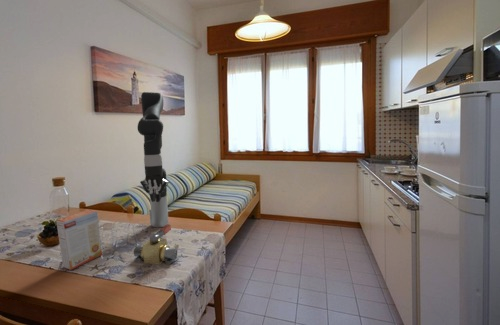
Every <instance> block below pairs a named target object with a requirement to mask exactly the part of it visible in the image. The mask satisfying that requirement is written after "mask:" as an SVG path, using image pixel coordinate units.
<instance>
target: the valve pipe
mask: <svg viewBox="0 0 500 325" xmlns="http://www.w3.org/2000/svg"><path fill="white" fill-rule="evenodd" d="M167 241H168V240H167V238H162V237H161V238H160V241H159V242H156V243H150V239H148V240H147V241H146V242H145V243H143V244H142V245H136V246H135V248H134V249H133V256H134V257H135V259H134V260H135V262H142V261H143V263H144V264H150V265H151V264H153V265H160V264H162V262H165V264H167V265H172V263H174V261H176V259H177V257H178V249H177V248H175V247H174V248H172V247H170V245H168V242H167Z"/></svg>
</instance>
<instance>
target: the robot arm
mask: <svg viewBox="0 0 500 325" xmlns="http://www.w3.org/2000/svg"><path fill="white" fill-rule="evenodd" d="M140 100H141V101H140V102H141V110H142V111H141V112H142V117H141V118H140V120H139V121H138V123H137V132H138V133H139V134H140V135H141V136H143V142H144V143H143V155H144V156H143V163H144V165H143V166H144V173H145V174H144V175H145V178H144V179H143V180H141V181H140V185H141V186H142V188H143V190H144V191H145V192H146V193H148V194H149V202H150V203H149V204H150V209H149V222H150V227H153V228H163V227H164V226H165V225H170V224H169V211H168V206H169V205H168V196H167V195H168V194H167V193H168V192H167V191H168V190H167V189H168V188H167V187H168V185H169V183H170V181H169V180H167V172H166V170H165V168H163V157H162V153H161V152H162V147H163V136H162V135H163V132H164V124H163V123H164V122H162V120H160V119H161V113H162V111H163V108H164V96H163V94H162V93H161V92H152V91H151V92H149V91H144V92H142V93H141V96H140Z"/></svg>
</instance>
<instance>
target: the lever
mask: <svg viewBox="0 0 500 325" xmlns="http://www.w3.org/2000/svg"><path fill="white" fill-rule="evenodd" d="M171 230H172V226H171V224H168V225H165V226H164V227H160V229H159V231H158V230H157V232H156V233H152V234H150V235H149V240H150V243H156V242H159V241H160V238H162V237H163V236H165V235H166V234H168V233H169V232H170V231H171Z"/></svg>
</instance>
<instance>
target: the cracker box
mask: <svg viewBox="0 0 500 325" xmlns="http://www.w3.org/2000/svg"><path fill="white" fill-rule="evenodd" d="M56 229H57V234H58V240H59V241H58V242H59V248H60V254H61V262H62V267H63V268H64V269H67V270H68V271H69V270H70V271H72V270H74V269H77V268H79V267H81V266H82V265H84V264H86V263H89V262H90V261H93V260H95V259H96V258H97V259H98V258H99V257H101V256H103V250H102V240H101V233H100V224H99V216H98V211H97V210H92V209H88V210H84V211H81V212H78V213H75V214H71V215H68V216H65V217H62V218H57V219H56Z"/></svg>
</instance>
